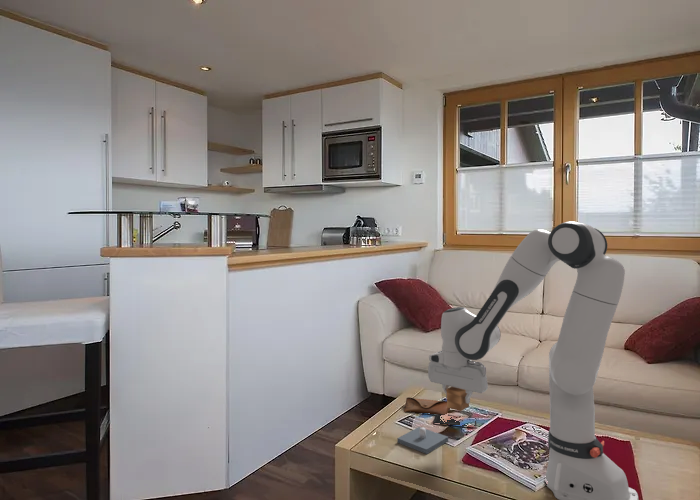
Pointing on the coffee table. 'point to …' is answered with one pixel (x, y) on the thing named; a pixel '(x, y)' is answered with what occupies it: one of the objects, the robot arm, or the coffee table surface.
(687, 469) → the coffee table surface
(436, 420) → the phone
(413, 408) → the sunglasses case
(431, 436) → the carrier plate
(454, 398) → the block
